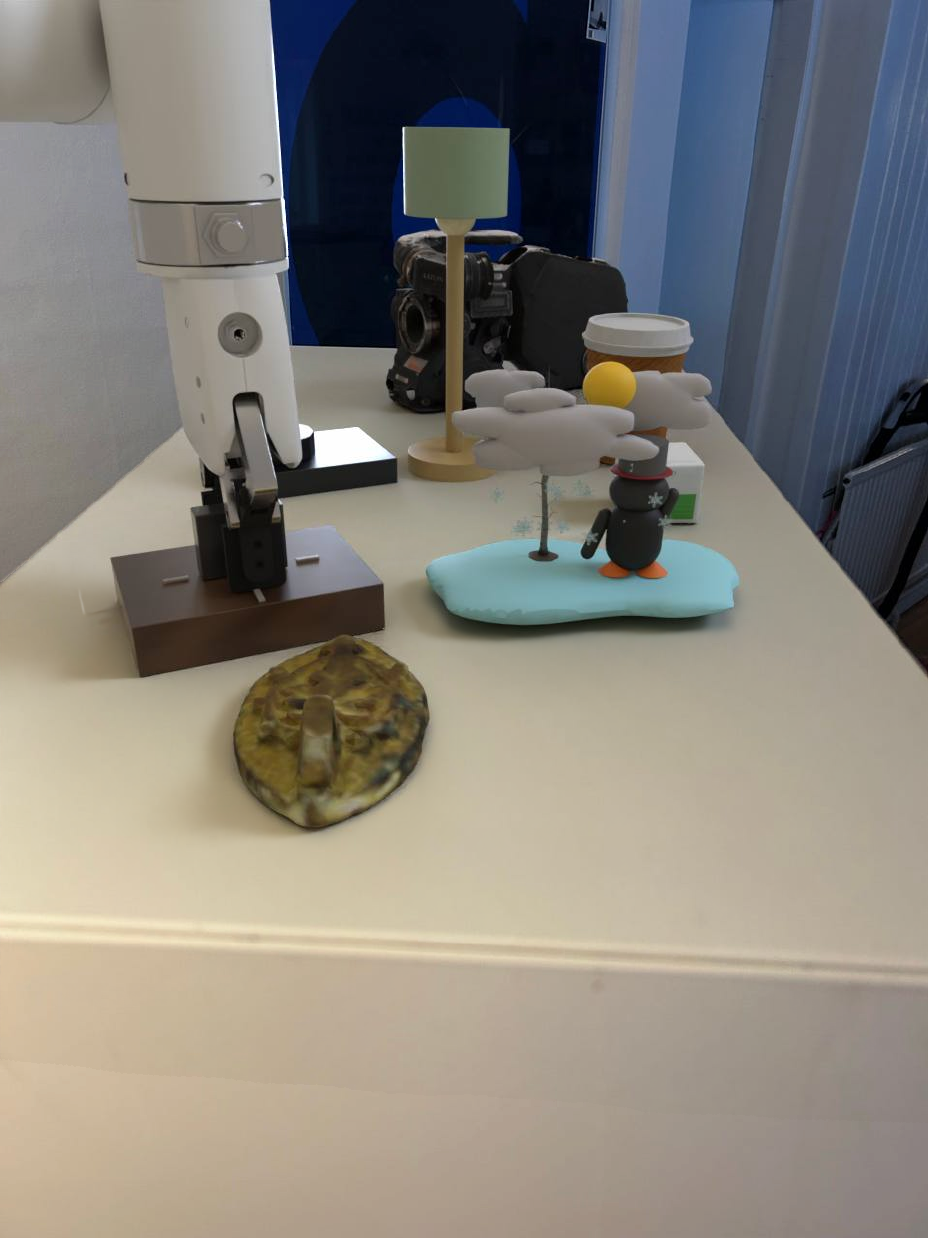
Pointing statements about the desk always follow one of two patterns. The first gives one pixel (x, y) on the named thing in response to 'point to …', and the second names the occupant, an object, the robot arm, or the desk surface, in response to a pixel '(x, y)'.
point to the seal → (330, 731)
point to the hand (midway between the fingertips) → (246, 565)
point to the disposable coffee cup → (638, 347)
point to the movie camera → (495, 313)
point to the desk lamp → (453, 257)
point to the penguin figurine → (572, 445)
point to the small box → (684, 482)
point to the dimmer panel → (244, 603)
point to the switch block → (335, 463)
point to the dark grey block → (215, 539)
